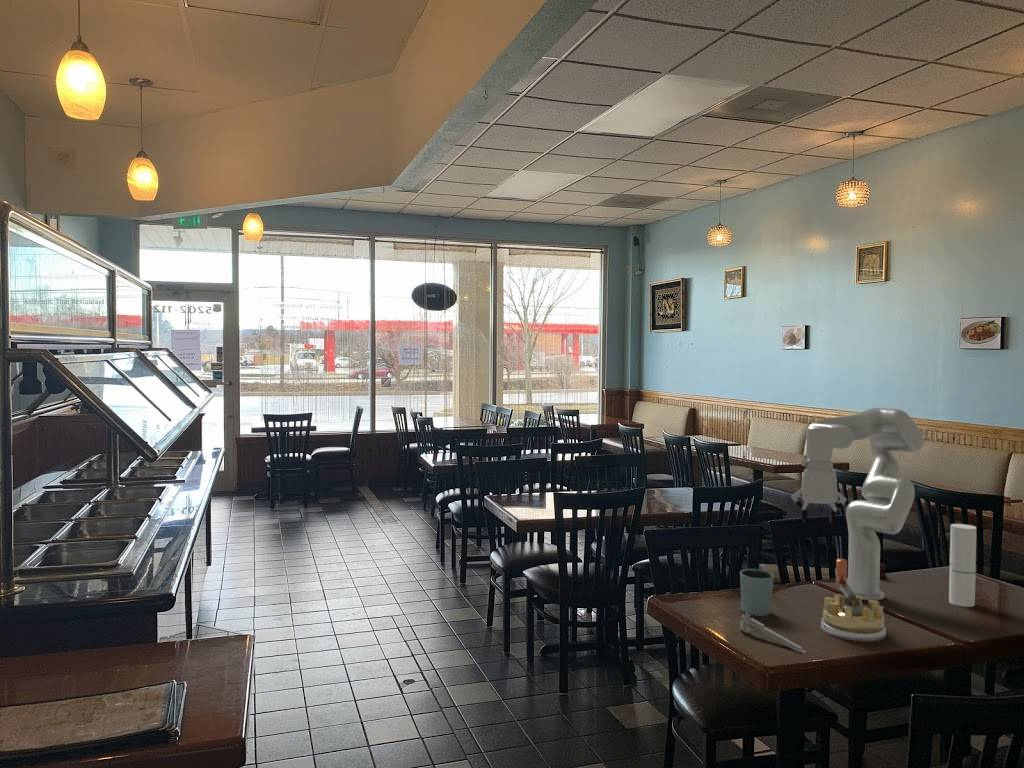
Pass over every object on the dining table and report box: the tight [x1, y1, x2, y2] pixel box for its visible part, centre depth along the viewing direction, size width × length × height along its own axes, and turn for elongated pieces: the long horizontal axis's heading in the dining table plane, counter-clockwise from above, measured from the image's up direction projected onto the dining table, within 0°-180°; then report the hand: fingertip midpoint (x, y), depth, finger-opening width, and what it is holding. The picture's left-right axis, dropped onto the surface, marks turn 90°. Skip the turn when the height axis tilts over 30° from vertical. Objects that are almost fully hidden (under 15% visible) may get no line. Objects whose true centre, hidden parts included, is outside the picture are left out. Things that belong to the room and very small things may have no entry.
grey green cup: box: [739, 568, 775, 617], centre depth 232 cm, size 10×10×12 cm
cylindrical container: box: [948, 523, 977, 608], centre depth 241 cm, size 7×7×25 cm
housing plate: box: [820, 617, 887, 643], centre depth 216 cm, size 17×17×2 cm
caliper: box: [739, 612, 807, 655], centre depth 207 cm, size 20×1×6 cm, turn 36°
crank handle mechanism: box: [822, 558, 885, 633], centre depth 219 cm, size 21×21×14 cm
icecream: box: [880, 562, 888, 580], centre depth 274 cm, size 7×7×15 cm
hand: (818, 522), depth 232 cm, fingers open, 7 cm apart
